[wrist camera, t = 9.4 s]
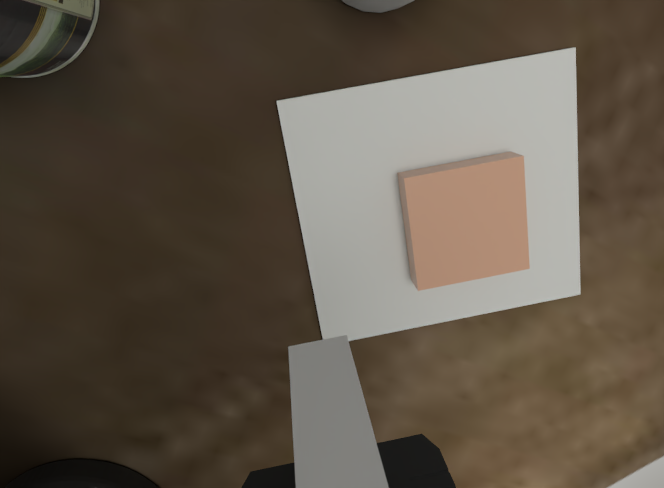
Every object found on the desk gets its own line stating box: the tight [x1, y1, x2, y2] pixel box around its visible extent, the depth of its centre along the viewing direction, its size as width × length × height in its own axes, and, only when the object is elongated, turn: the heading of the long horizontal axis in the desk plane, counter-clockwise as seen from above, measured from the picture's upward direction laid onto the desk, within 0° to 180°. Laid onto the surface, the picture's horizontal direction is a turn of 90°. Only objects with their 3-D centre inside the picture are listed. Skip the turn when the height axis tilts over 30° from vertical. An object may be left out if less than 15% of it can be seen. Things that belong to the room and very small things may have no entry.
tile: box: [397, 152, 530, 291], centre depth 37 cm, size 2×8×8 cm
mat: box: [276, 47, 580, 341], centre depth 38 cm, size 20×18×1 cm
